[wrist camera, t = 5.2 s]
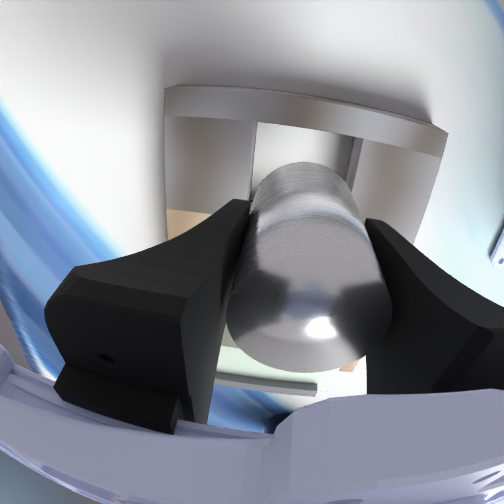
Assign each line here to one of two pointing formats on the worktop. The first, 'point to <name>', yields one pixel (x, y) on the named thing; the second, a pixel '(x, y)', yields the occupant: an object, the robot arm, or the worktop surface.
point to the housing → (299, 115)
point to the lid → (265, 374)
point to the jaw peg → (307, 275)
